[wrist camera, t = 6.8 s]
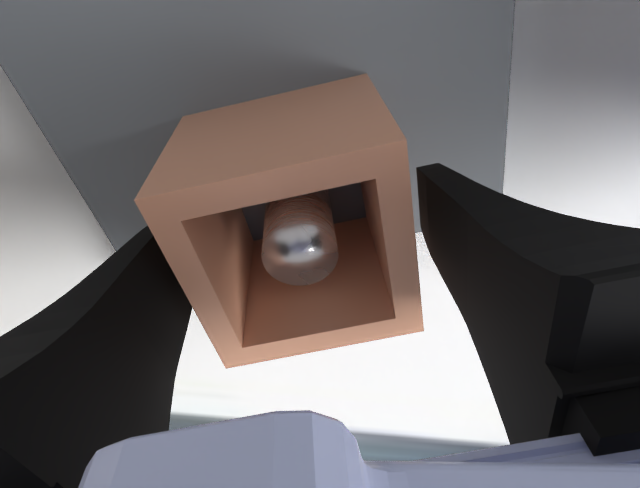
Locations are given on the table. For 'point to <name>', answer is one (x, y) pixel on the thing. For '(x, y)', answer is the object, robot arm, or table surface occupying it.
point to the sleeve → (279, 183)
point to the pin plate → (256, 93)
